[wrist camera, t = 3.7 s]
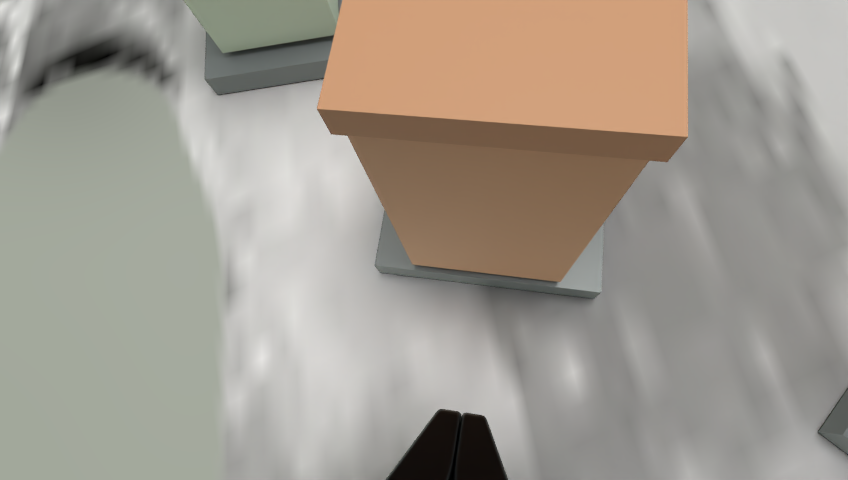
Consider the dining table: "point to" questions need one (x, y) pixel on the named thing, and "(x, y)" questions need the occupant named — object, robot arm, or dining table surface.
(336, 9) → the sage key
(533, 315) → the dining table surface
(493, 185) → the orange rectangular block
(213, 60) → the sage key base
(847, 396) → the oak key base
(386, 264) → the terracotta key base
